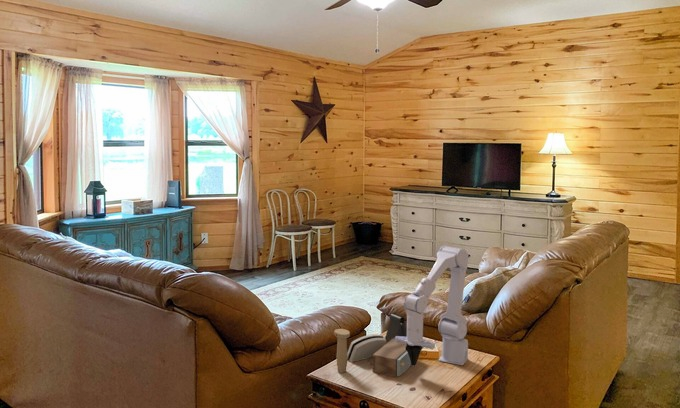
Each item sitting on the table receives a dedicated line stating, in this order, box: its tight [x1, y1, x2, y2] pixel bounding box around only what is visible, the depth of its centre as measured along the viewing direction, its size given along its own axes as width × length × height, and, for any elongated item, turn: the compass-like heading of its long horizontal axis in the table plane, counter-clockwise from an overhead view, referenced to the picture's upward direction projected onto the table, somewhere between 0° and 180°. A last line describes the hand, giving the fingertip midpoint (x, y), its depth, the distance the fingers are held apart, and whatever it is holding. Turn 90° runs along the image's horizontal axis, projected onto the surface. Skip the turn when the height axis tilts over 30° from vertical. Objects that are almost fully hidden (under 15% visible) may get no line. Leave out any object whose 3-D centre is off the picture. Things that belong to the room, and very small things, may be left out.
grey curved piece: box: [347, 333, 387, 363], centre depth 218 cm, size 17×5×10 cm, turn 124°
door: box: [396, 351, 412, 377], centre depth 207 cm, size 2×18×6 cm, turn 152°
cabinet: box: [372, 339, 407, 378], centre depth 210 cm, size 9×19×6 cm, turn 152°
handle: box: [333, 328, 351, 374], centre depth 203 cm, size 5×6×15 cm
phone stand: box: [384, 313, 407, 344], centre depth 232 cm, size 9×6×12 cm, turn 126°
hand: (414, 364), depth 201 cm, fingers closed
